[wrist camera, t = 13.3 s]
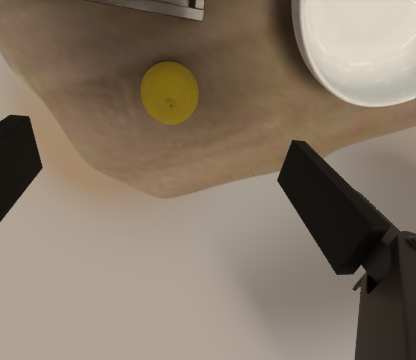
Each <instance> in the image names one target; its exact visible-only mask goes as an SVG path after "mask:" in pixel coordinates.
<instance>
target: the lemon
mask: <svg viewBox="0 0 416 360" xmlns="http://www.w3.org/2000/svg"><path fill="white" fill-rule="evenodd" d="M198 98H199V90H198V85H197V82H196V80H195V78H194V76H193V75H192V73H191V72H190V71H189V70H188V69H187V68H186V67H184V66H183V65H181V64H179V63H176V62H171V61H165V62H160V63H158V64H156V65H153V66H152V67H151V68H150V69H149V70H148V71H147V72H146V74H145V75H144V77H143V80H142V83H141V99H142V103H143V105H144V107H145V109H146V111H147V112H148V113H149V114H150V116H151V117H153V118H154V119H155V120H157V121H159V122H161V123H164V124H178V123H181V122H183V121H185V120H186V119H188V118H189V117H190V116H191V115H192V114H193V112H194V110H195V109H196V106H197V103H198Z"/></svg>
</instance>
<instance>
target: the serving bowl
mask: <svg viewBox="0 0 416 360" xmlns="http://www.w3.org/2000/svg"><path fill="white" fill-rule="evenodd" d="M292 20H293V28H294V33H295V38H296V41H297V45H298V48H299V51H300V53H301V56H302V58H303V60H304V62H305V64H306V65H307V67H308V69H309V70H310V72H311V73H312V75H313V76H314V77H315V78H316V79H317V81H318V82H319V83H320V84H321V85H322V86H324V87H325V88H326V89H327V90H328V91H329V92H331V93H332V94H333V95H335V96H336V97H338V98H340V99H342V100H343V101H346V102H348V103H351V104H355V105H358V106H364V107H384V106H391V105H395V104H399V103H403V102H406V101H409V100H412V99H414V98H416V0H292Z"/></svg>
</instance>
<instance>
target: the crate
mask: <svg viewBox="0 0 416 360" xmlns="http://www.w3.org/2000/svg"><path fill="white" fill-rule="evenodd" d="M86 1H91V2H97V3H103V4H108V5H114V6H119V7H125V8H130V9H136V10H141V11H147V12H153V13H158V14H164V15H169V16H175V17H180V18H186V19H191V20H197V21H203V15H204V6H205V0H86Z"/></svg>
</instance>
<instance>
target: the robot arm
mask: <svg viewBox="0 0 416 360" xmlns="http://www.w3.org/2000/svg"><path fill="white" fill-rule="evenodd" d="M41 169H42V163H41V160H40V156H39V152H38V148H37V145H36V141H35V137H34V133H33V129H32V125H31V122H30V118H29V116H18V115H9V116H7V117H6V118H5V119H3V120H1V121H0V222H1V220H2V219H3V218H4V217H5V215H6V214H7V213H8V211H9V210H10V209H11V208H12V206H13V205H14V204H15V203H16V201H17V200H18V198H19V197H20V196H21V195H22V193H23V192H24V191H25V190H26V188H27V187H28V186H29V184H30V183H31V182H32V181H33V179H34V178H35V177H36V176H37V174H38V173H39V172H40V171H41ZM277 181H278V182H279V184H280V186H281V187H282V189H283V190H284V192H285V194H286V195H287V197H288V198H289V200H290V202H291V203H292V205H293V206H294V208H295V209H296V211H297V213H298V214H299V216H300V217H301V219H302V220H303V222H304V224H305V225H306V227H307V228H308V230H309V232H310V233H311V235H312V236H313V238H314V240H315V241H316V243H317V244H318V246H319V247H320V249H321V251H322V252H323V254H324V255H325V257H326V258H327V260H328V262H329V263H330V265H331V266H332V268H333V270H334V271H335V273H336V274H337V275H348V274H354V273H355V271H356V270H357V269H358V268H359V266H360V265H362V266H363V268H364V269H365V270H366V273H365V274H364V275H363V276H362V277H361V278H360V280H359V281H358V282H357V283H356V285H355V286H354V288H353V290H355V291H356V290H357V289H358V287H361V292H360V305H359V316H358V327H357V338H356V349H355V360H416V234H415V233H412V232H408V231H402V232H400V231H399V230H398V229H397V228H396V227H395V226H394V225H393V224H392V223H391V222H390V221H389V220H388V219H387V218H386V217H385V216H384V215H383V214H382V213H381V212H380V211H379V210H376V208H375V207H374V206H373V205H372V204H371V203H369V201H368V200H367V199H366V198H365V197H364V196H363V195H362V194H360V193H359V192H358V191H356V190H354V189H353V188H352V187H351V186H350V185H349V184H348V183H347V182H346V181H345V180H344V179H343V178H342V177H341V176H340V175H339V174H338V173H337V172H336V171H335V170H334V169H333V168H332V167H330V165H328V164H327V163H326V162H325V161H324V160H323V159H322V158H321V157H320V156H319V155H318V154H317V153H316V152H315V151H314V150H313V149H312V148H311V147H310V146H309V145H308V144H307V143H306V142H305V141H297V140H292V142H291V145H290V148H289V150H288V153H287V156H286V158H285V161H284V163H283V166H282V169H281V171H280V174H279V177H278V180H277Z"/></svg>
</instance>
